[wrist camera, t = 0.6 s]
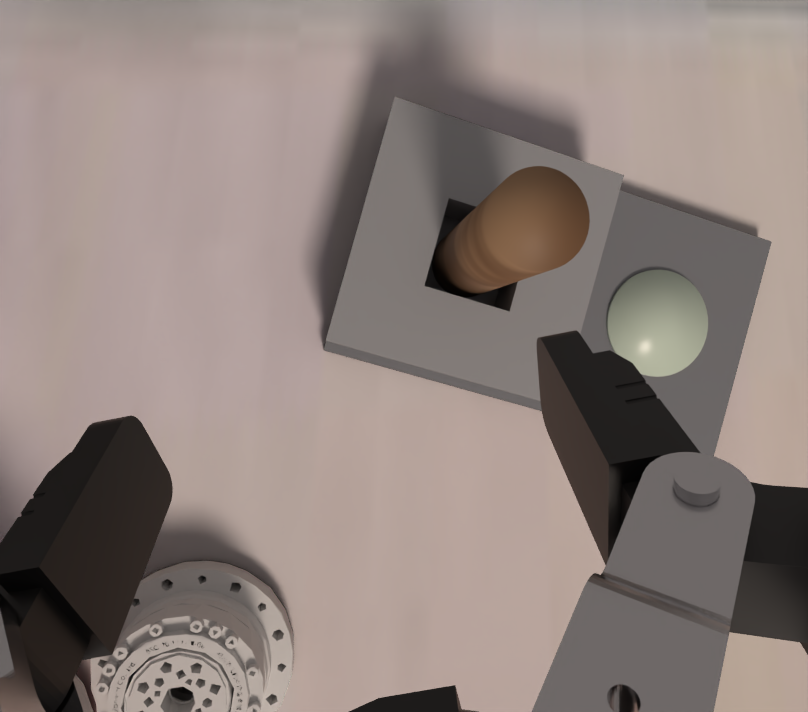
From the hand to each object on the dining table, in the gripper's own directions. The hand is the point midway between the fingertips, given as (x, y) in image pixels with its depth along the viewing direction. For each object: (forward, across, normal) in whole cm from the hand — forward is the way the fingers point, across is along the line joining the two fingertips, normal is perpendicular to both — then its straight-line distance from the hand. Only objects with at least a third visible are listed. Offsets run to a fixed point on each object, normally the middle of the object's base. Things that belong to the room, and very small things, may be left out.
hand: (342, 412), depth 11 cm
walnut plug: (+19, -5, +6) cm, 21 cm away
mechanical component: (+9, +13, +20) cm, 26 cm away
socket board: (+19, -9, +9) cm, 23 cm away
